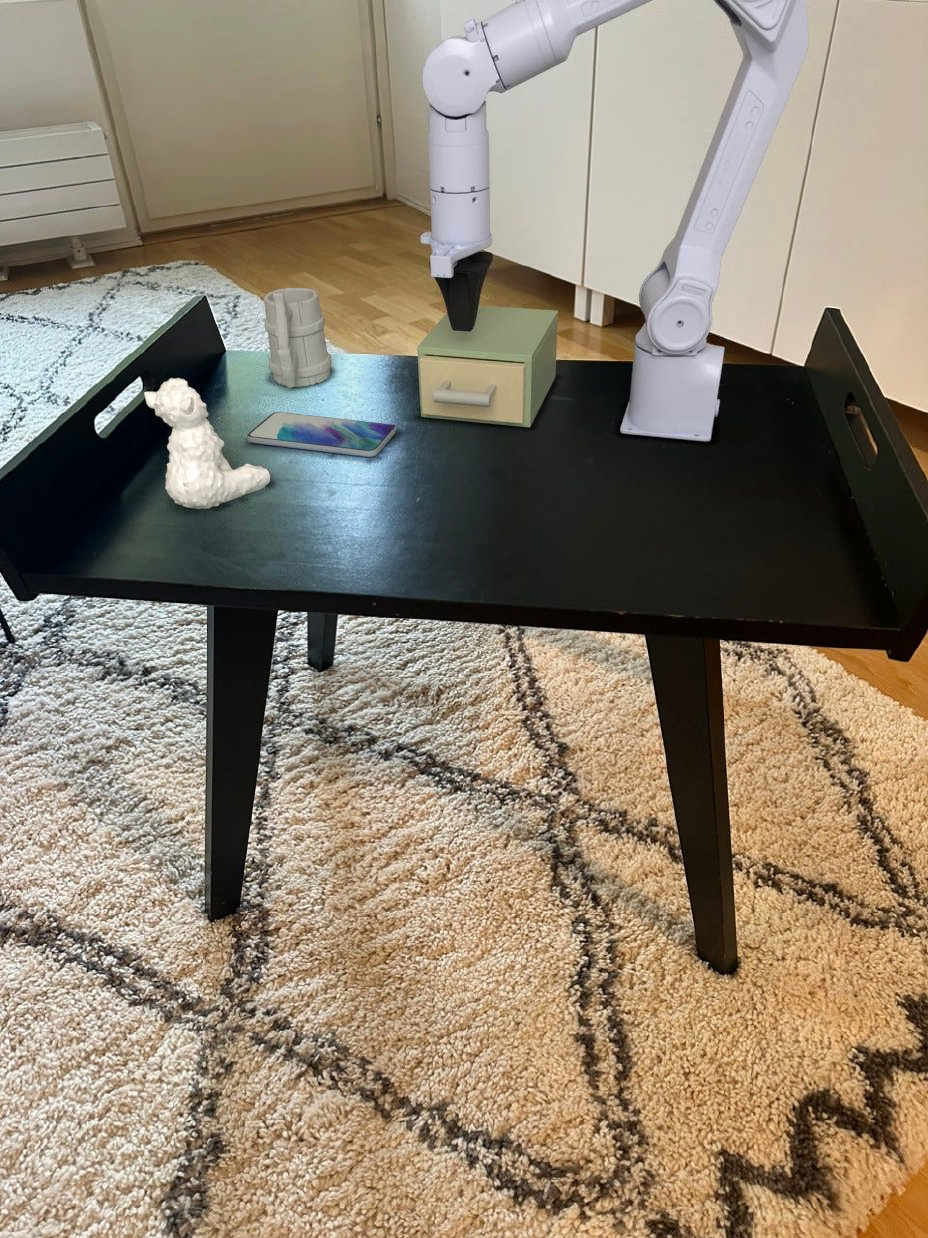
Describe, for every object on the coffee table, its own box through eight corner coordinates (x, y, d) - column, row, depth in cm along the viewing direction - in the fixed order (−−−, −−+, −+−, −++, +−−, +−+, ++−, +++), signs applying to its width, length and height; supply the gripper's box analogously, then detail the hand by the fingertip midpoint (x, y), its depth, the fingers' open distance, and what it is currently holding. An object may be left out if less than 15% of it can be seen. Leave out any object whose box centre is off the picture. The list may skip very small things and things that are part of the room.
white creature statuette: (275, 483, 89) (256, 367, 82) (222, 525, 83) (196, 403, 76) (199, 466, 92) (173, 353, 85) (142, 505, 86) (109, 386, 79)
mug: (337, 363, 114) (326, 266, 107) (322, 401, 105) (309, 297, 97) (277, 364, 114) (262, 267, 107) (257, 402, 105) (240, 298, 98)
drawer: (513, 440, 93) (514, 383, 90) (410, 430, 96) (406, 373, 92) (547, 376, 107) (549, 324, 103) (455, 368, 109) (454, 317, 106)
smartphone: (273, 410, 101) (398, 424, 97) (275, 417, 101) (399, 431, 98) (243, 436, 95) (374, 452, 92) (244, 444, 96) (374, 459, 92)
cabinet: (530, 427, 98) (531, 355, 93) (420, 416, 101) (416, 346, 96) (555, 376, 109) (558, 310, 104) (456, 368, 112) (454, 303, 107)
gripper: (440, 170, 91) (445, 304, 100) (395, 203, 80) (405, 350, 89) (507, 172, 90) (507, 308, 98) (471, 205, 79) (473, 356, 87)
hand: (463, 328), depth 93 cm, fingers closed
